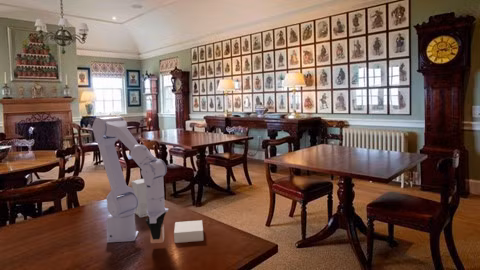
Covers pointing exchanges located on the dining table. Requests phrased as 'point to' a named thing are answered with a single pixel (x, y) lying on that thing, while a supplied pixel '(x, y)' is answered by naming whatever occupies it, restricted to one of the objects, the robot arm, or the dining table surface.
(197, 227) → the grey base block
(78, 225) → the dining table surface
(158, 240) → the terracotta block
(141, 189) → the skincare box
